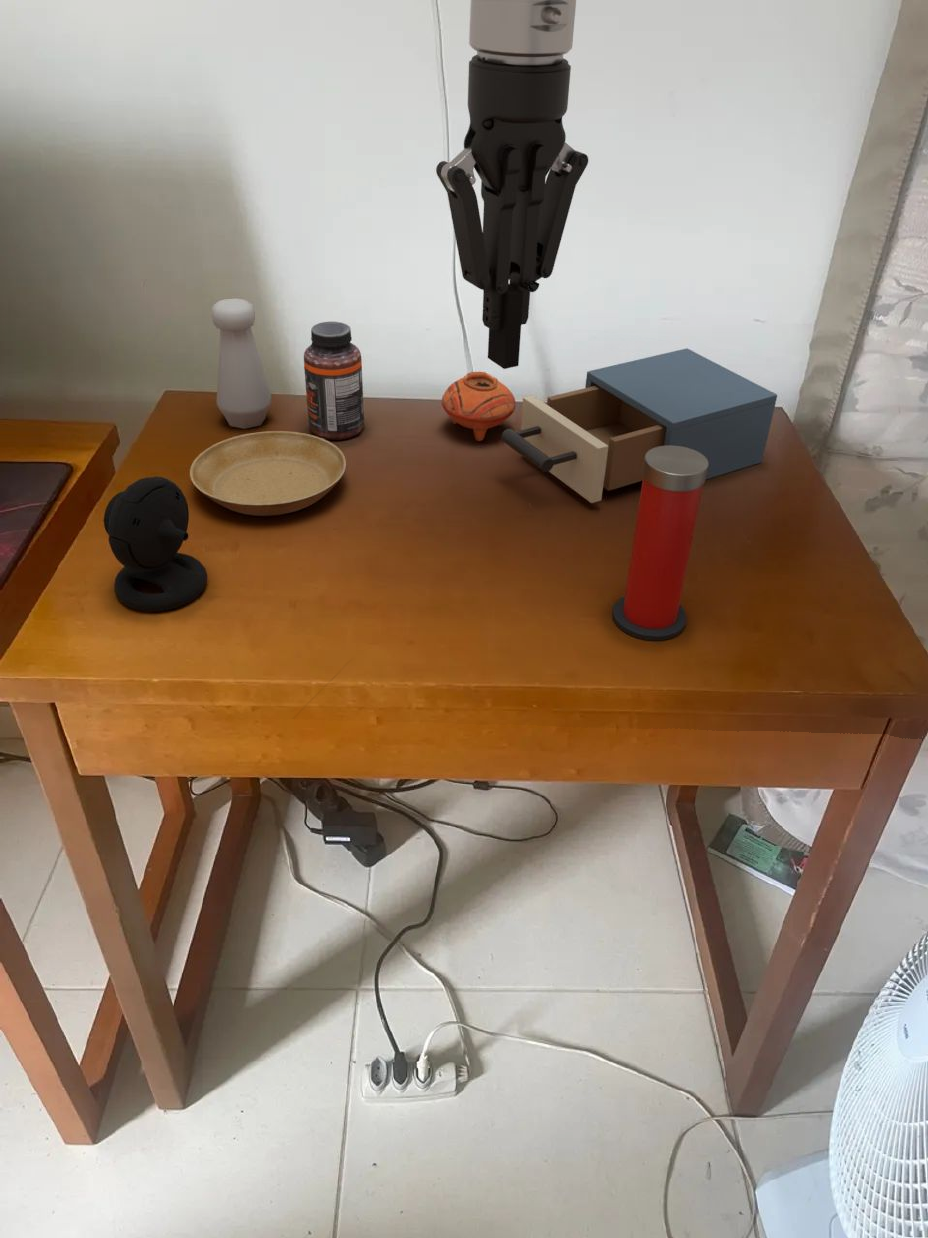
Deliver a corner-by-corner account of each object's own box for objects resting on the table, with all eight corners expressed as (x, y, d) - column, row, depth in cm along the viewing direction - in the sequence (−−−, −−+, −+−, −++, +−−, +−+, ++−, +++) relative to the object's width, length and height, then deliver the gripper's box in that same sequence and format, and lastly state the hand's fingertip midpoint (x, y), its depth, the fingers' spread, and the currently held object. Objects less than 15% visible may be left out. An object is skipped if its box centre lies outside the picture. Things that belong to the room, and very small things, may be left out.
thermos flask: (683, 603, 81) (713, 452, 73) (672, 635, 78) (702, 479, 69) (628, 591, 83) (652, 440, 74) (615, 621, 79) (638, 467, 71)
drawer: (555, 514, 91) (560, 458, 88) (485, 458, 100) (487, 405, 96) (691, 473, 98) (701, 419, 95) (615, 424, 107) (621, 373, 103)
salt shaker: (279, 411, 109) (268, 294, 102) (264, 434, 105) (251, 314, 97) (228, 406, 110) (214, 290, 102) (211, 429, 105) (194, 310, 97)
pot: (483, 403, 111) (495, 352, 106) (520, 445, 107) (535, 394, 103) (423, 416, 108) (432, 364, 103) (458, 460, 104) (470, 408, 99)
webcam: (159, 552, 86) (139, 450, 80) (227, 576, 84) (211, 472, 78) (94, 598, 81) (67, 491, 75) (165, 625, 78) (143, 517, 72)
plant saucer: (171, 522, 90) (166, 497, 89) (221, 448, 102) (217, 425, 100) (328, 535, 89) (326, 510, 88) (360, 459, 101) (359, 435, 99)
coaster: (692, 606, 82) (693, 601, 82) (678, 648, 77) (678, 643, 77) (621, 590, 84) (622, 585, 83) (604, 630, 79) (604, 625, 79)
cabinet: (661, 493, 97) (673, 423, 92) (579, 437, 106) (586, 371, 101) (762, 462, 103) (777, 394, 98) (676, 412, 112) (687, 347, 107)
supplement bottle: (301, 422, 107) (293, 321, 100) (353, 413, 109) (348, 313, 102) (319, 446, 103) (311, 341, 96) (372, 436, 105) (368, 333, 98)
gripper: (470, 68, 66) (460, 392, 81) (622, 58, 72) (588, 363, 86) (417, 51, 72) (417, 359, 86) (563, 43, 77) (540, 334, 91)
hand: (502, 361), depth 86 cm, fingers closed
